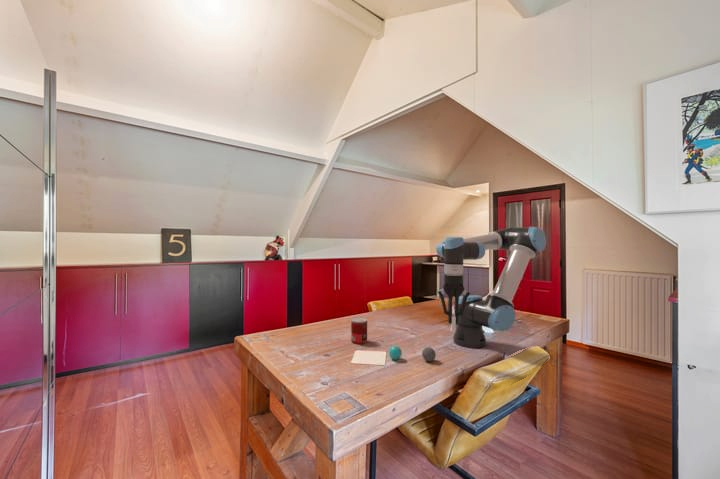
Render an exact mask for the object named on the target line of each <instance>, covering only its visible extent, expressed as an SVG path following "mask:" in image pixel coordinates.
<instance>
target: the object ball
mask: <svg viewBox="0 0 720 479" xmlns="http://www.w3.org/2000/svg"><path fill="white" fill-rule="evenodd" d="M402 355H403V354H402V348H400V347H399V346H398V345H392V346H391V347H390V348H389V350H388V356H389V357H390V358H391V359H392V360H394V361H395V360H399V359H400V358H401V357H402Z"/></svg>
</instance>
